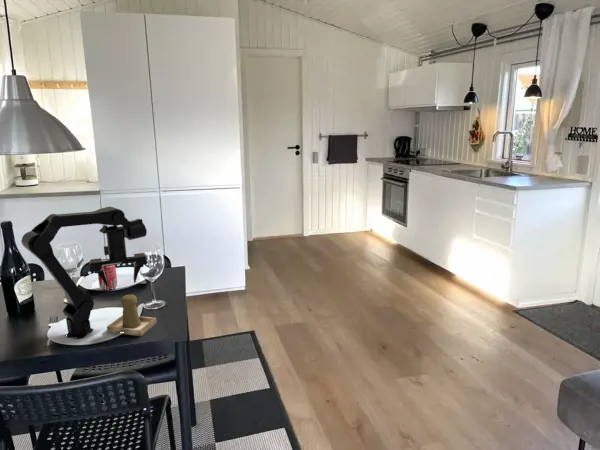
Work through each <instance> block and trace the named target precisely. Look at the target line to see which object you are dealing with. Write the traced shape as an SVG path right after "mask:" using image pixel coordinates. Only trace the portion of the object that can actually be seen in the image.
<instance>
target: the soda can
mask: <svg viewBox="0 0 600 450" xmlns="http://www.w3.org/2000/svg"><path fill="white" fill-rule="evenodd" d="M101 260H102V261H107V260H109V258H108V259H107V258H105V259H101ZM103 267H104V272H105V275H106V279H107V284H108V287H106V285H105V283H104V282H103V280H102V278H101V277H100V276H99V274H98V273H97V276H98V285H99V289H100V290H103V289H105V290H104V291H106V290H107V291H110V290H109V289H112V288H114V289H116V288H117V287H118V277H117V269H116V265H111V266H103ZM112 290H113V289H112Z"/></svg>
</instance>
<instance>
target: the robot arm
mask: <svg viewBox="0 0 600 450" xmlns="http://www.w3.org/2000/svg"><path fill="white" fill-rule="evenodd" d="M97 224H98V225H102V227H101V228H100V229H99V233H102V234H105V235H106V242H107V245H105V246H103V251H104V252H103V253H104V256H108V259H109V260H107V261H102V260H103V259H102V258H101V257H100V258H91V259H90V260H89V262H88V265H89V266H88V267H89V272H91V273H92V272H93V273H94V274H97V275H98V274H99V276H100V277H101V278H102V280H103V282H104V283H105V285H106V287H108V284H107V279H106V275H105V272H104V267H103V266H111V265H115V266H119V265H124V264H133V283H134V284H136V282H137V278H138V275H139V272H140V271H141V268H143V267H144V266H145V265H147V264H148V258H147V255H146V253H145V252H139V253H134V254H133V257H132V256H131V257H128V256H127V247H126V239H127V240H128V241H132V240H133V241H134V240H137V239H141V238H145V237H146V236H147V233H148V232H147V228H146V226H145V224H144V222H143V219H142V218H136V219H134V220H129V219H128V218H127V217H126V215H125V212H124V211H123V210H122V209H119V208H118V207H117V208H116V207H114V206H105V207H103V208H101V207H100V208H99V209H97V210H93V211H85V212H84V211H81V212H69V213H52V214H49V215H47V217H46V218H45V219H44V220H42V221H40V222H39V223H38V224H37V225H35V226H34V227H33V228H32V229H31V230H30V231H27V232H26V233H24V234H23V236H22V237H21V240H20V242H21V244H22V246H23V247H24V249H26V250H27V251H28V252H30V253H31V254H32V255H33V256H35V258H36V259H38V260H39V261H40V262H41V264H42V265H43V266H44V267H45V269H46V271H48V272H49V274H50V275H51V276H52V278H53V279H54V280H55V282H56V283H57V284H58V285H59V286H60V288H61V289H62V290H63V292H64V294H65V298H66V301H67V304H66V305H65V307H64V308H63V309H62V313H63V314H64V316H66V318H65V320H66V328H67V333H66V334H65V335H64V337H65V336H66V335H67V337H66V338H70V339H76V340H77V339H79V340H81V339H83V338H85V337H86V336H87V335H90V333H92V332H93V331H94V328H91V321H90V316H91V313H92V310H93V309H94V306H95V302H94V300H95V297H93V296H92V295H91V294H90V291H89V290H88V288H85V287H84V286H82V285H79V286H78V285H77V284H76V283H75V281H74V280H73V279H72V278H71V276H70V275H69V273H68V272H67V271H66V269H65V268H64V267H63V265H62V264H61V263H60V262H59V260H58V258H57V257H56V256H55V254H54V250H53V247H52V245H51V242H52V241H53V240H54V239H55V237H56V235H57V234H58V232H59V230H60V229H62V228H65V227H66V228H67V227H77V226H78V227H79V226H87V225H88V226H89V225H97ZM125 238H126V239H125Z"/></svg>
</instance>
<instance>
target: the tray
mask: <svg viewBox="0 0 600 450" xmlns="http://www.w3.org/2000/svg"><path fill="white" fill-rule="evenodd" d="M139 319H140V322H141V325H140V326H139V327H137V328H134V329H130V328H123V327H122V325H123V314H122V315H121V316H119V317H118V318H116V319H115V320H114V321H113V322H111V323H110V324H108V325H107V326H106V331H107V333H112V334H113V333H114V334H120V332H124V334H123V335H128V336H137V337H143V335H145V334H146V333H147V332H148V331H150V329H152V328H153V327H154V326H156V325H157V318H156V317H149V316H142V315H141V316H140V315H139Z"/></svg>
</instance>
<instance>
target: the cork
mask: <svg viewBox="0 0 600 450" xmlns="http://www.w3.org/2000/svg"><path fill="white" fill-rule="evenodd" d="M137 303H138V298H137V296H136V295H135V294H125V295H123V296H122V297H121V299H120V304H121V305H122V315H123V325H122V327H123V328H130V329H134V328H137V327H139V326H140V325H141V322H140V319H139V316H140V314H139V312H138V311H139V310H138V307H137Z"/></svg>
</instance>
